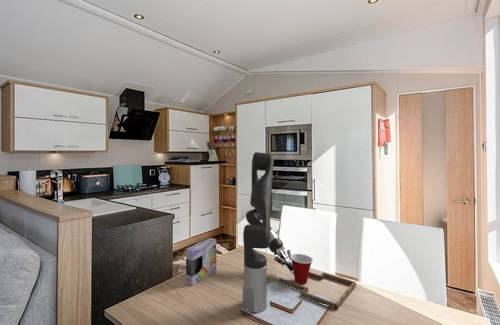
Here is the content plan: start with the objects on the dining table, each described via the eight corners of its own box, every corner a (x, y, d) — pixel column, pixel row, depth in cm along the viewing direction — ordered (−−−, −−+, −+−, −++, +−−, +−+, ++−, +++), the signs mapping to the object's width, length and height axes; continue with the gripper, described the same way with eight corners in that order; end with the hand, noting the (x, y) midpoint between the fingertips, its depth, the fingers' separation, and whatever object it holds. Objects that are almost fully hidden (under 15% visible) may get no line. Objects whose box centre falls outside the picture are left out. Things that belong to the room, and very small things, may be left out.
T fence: (336, 310, 102) (337, 305, 102) (274, 286, 121) (274, 281, 121) (355, 286, 121) (356, 282, 121) (298, 268, 140) (298, 265, 140)
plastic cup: (315, 287, 120) (315, 261, 120) (291, 287, 120) (292, 261, 120) (310, 276, 131) (310, 253, 131) (288, 276, 131) (288, 253, 131)
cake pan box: (191, 287, 120) (191, 250, 120) (183, 284, 123) (183, 248, 122) (217, 271, 137) (217, 238, 136) (210, 269, 139) (209, 237, 139)
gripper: (269, 239, 129) (290, 271, 122) (283, 233, 139) (304, 262, 132) (260, 248, 132) (281, 278, 125) (275, 241, 143) (294, 269, 135)
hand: (292, 270), depth 128 cm, fingers closed
